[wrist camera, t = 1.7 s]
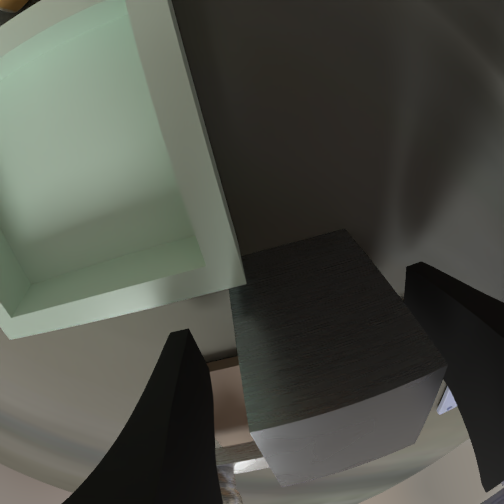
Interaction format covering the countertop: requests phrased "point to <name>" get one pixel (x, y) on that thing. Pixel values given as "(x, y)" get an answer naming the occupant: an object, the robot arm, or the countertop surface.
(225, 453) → the crank
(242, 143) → the countertop surface
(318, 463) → the block
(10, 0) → the small box
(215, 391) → the crank base
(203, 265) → the tray
